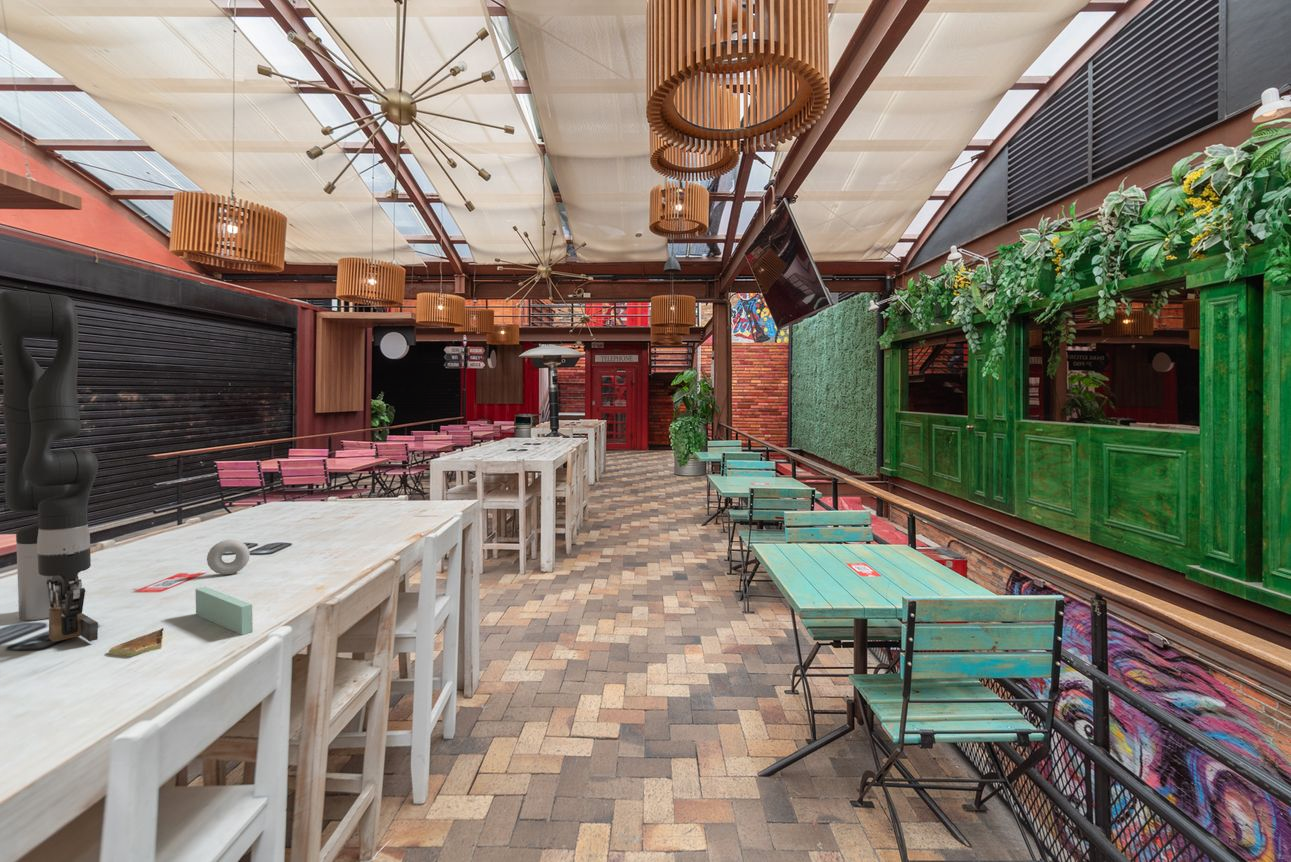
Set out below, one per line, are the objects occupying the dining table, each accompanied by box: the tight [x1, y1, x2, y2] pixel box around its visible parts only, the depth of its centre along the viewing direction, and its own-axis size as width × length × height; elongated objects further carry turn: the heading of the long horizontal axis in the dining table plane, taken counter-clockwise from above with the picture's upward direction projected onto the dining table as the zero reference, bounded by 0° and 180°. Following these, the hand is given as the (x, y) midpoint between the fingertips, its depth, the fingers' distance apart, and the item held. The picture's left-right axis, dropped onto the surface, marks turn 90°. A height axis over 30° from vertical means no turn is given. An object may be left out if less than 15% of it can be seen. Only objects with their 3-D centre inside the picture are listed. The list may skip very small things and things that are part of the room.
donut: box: [206, 539, 251, 575], centre depth 165 cm, size 10×4×10 cm, turn 125°
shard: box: [108, 627, 164, 658], centre depth 116 cm, size 11×8×2 cm
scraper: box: [48, 606, 99, 643], centre depth 118 cm, size 13×5×6 cm, turn 59°
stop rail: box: [195, 586, 254, 636], centre depth 128 cm, size 22×2×6 cm, turn 59°
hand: (67, 631), depth 117 cm, fingers closed on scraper, 3 cm apart
